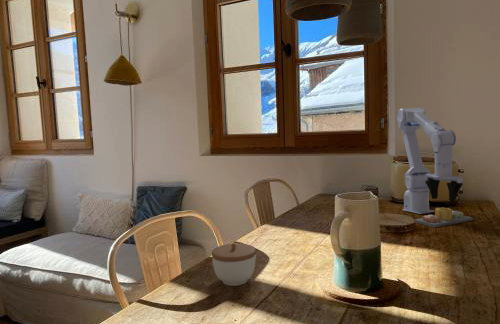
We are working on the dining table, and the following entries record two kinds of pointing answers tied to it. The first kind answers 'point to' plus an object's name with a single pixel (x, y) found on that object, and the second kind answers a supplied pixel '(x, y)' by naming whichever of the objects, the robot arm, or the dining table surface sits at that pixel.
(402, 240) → the dining table surface
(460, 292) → the dining table surface
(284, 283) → the dining table surface
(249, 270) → the lidded jar
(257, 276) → the dining table surface
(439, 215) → the loose gear
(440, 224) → the gear board
